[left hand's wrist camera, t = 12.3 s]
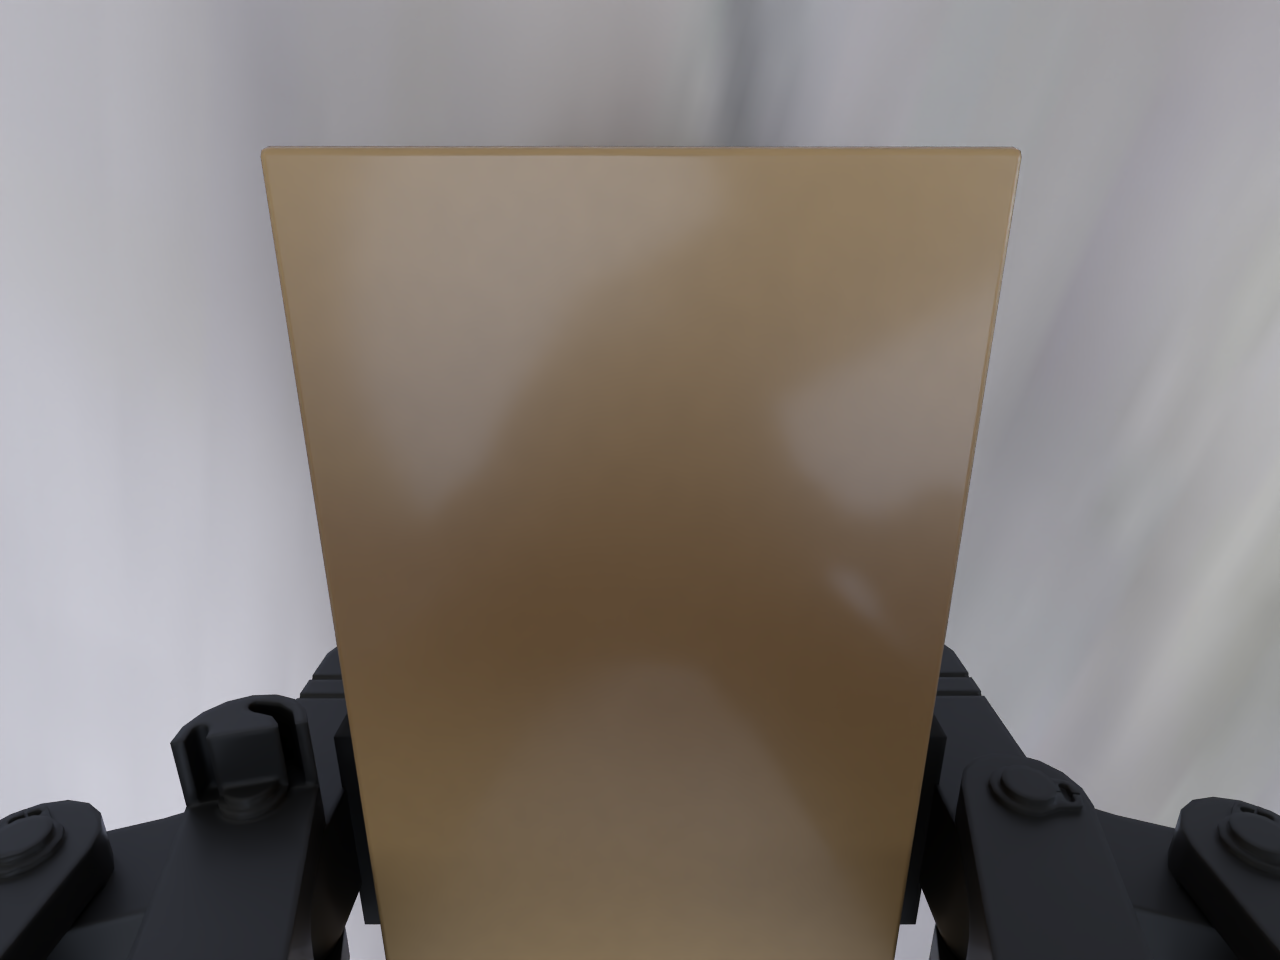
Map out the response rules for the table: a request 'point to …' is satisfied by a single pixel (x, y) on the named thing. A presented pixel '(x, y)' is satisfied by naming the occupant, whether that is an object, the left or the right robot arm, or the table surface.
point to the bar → (640, 525)
